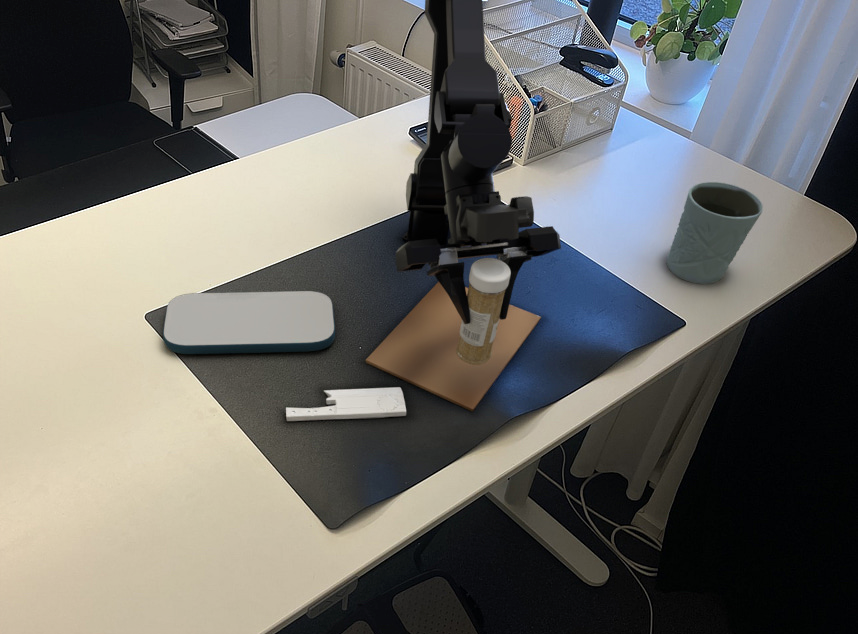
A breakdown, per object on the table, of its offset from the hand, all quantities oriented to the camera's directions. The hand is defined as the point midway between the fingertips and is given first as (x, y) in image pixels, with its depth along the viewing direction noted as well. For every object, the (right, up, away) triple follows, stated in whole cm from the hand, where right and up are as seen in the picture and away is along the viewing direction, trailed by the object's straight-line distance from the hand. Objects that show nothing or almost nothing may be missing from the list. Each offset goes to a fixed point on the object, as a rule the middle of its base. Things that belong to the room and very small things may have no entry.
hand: (485, 321), depth 90 cm
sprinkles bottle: (0, -4, +6) cm, 7 cm away
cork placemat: (-1, -1, +15) cm, 15 cm away
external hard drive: (-30, +1, +16) cm, 34 cm away
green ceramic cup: (+39, +11, +28) cm, 49 cm away
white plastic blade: (-17, -10, +6) cm, 20 cm away
